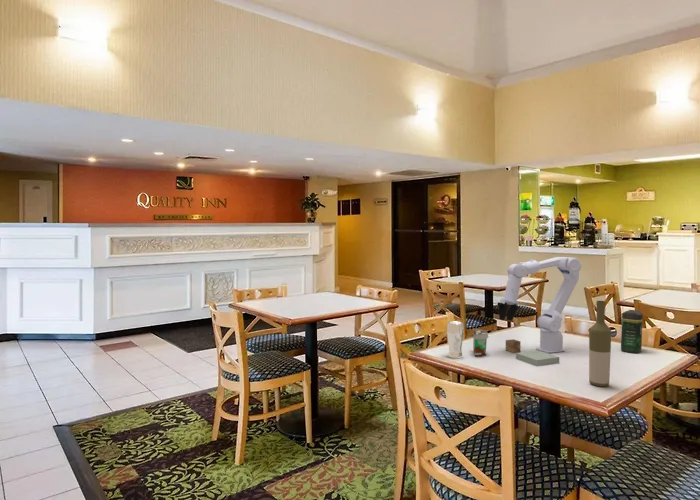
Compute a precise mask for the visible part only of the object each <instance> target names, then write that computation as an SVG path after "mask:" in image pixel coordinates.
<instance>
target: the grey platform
mask: <svg viewBox="0 0 700 500" xmlns="http://www.w3.org/2000/svg"><path fill="white" fill-rule="evenodd" d="M515 359H516V360H518V361H521V362H524V363H527V364H530V365H532V366H535V367H542V366H549V365H555V364H560V356H557V355H554V354H552V353H546V352H543V351H540V350H537V349H535V350H529V351H523V352H522V351H520V352H519V353H515Z"/></svg>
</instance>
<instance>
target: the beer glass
mask: <svg viewBox="0 0 700 500" xmlns="http://www.w3.org/2000/svg"><path fill="white" fill-rule="evenodd" d="M446 330H447V331H446V333H447V334H446V335H447V342H448V354H447V356H448V357H449V358H450V359H461V358H463V352H462V347H463V341H464V322H462V321H459V320H456V321H455V320H454V321H453V320H450V321H447V329H446Z"/></svg>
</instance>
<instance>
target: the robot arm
mask: <svg viewBox="0 0 700 500" xmlns="http://www.w3.org/2000/svg"><path fill="white" fill-rule="evenodd" d="M551 267H552V268H553V267H555V268H556V269H558V271H559V272H560V273H561V274H562V277H563V281H562V283H561V285H560V287H559V289H558V290H557V293H556V294H555V296H554V298H553V300H552V302H551V304H550V305H549V308H548V309H546V310H544V311H543V312H542V314H541V315H540V316H539V317H538V318H537V320H536V323H537V325H538V328H539V334H540V335H539V336H540V337H539V347H536V348H535V350H539V351H542V352H545V353H548V354H552V353H553V354H554V353H559V352H565V349H564V347H563V345H564V344H563V343H564V337H563V334H562V331H561V330H560V329H561V327H562V326H561V325H562V321H563V316H562V313H563V311H564V309H565V307H566V305H567V303H568V301H569V299H570V298H571V295H572V294H573V291H574V290H575V287H576V286H577V284H578V281H579V278H580V270H581V269H582V264H581V262H580V260H579V259H578V258H577V257H569V256H568V257H567V256H555V257H552V258H551V257H550V258H547V259H544V260H541V261H537V260H535V259H532V258H531V259H529V260H528V261H524V262H522V261H520V262H519V263H518V264H517V263H512V264H510V266H509V267H508V268H507V274H508V275H507V277H508V278H507V281H506V287H505V292H504V295H503V297H501V298H500V299H499V301H498V302H497V308H498V318H499V320H501V321H505V320H507V321H510V322H512V321H513V319H514V317H515V315H516V314H517V312H518V311H519V310H520V309H521V307H520V305H519V303H520V301H518V297H519V293H520V288H521V285H522V281H523V278H524V277H526V276H528V275H533V274H536V273H539V271H540V270H542V269H548V268H551Z"/></svg>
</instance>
